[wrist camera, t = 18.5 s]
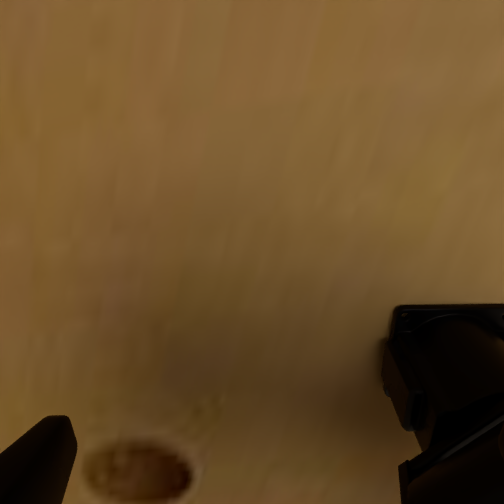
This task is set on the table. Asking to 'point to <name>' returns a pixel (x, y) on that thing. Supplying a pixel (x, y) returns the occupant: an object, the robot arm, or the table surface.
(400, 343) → the robot arm
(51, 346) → the table surface
